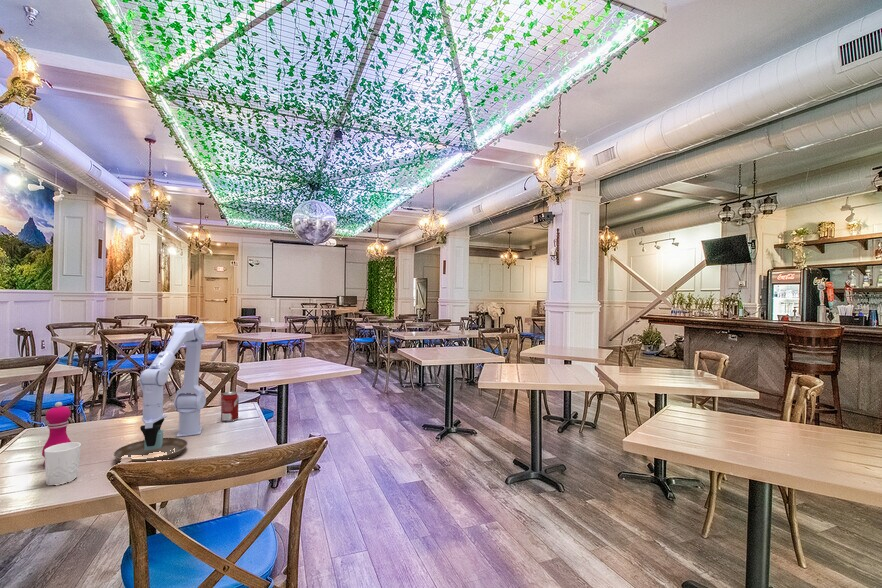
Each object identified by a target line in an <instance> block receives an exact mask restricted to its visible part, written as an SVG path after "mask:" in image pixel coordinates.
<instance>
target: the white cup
mask: <svg viewBox="0 0 882 588" xmlns="http://www.w3.org/2000/svg"><path fill="white" fill-rule="evenodd" d="M81 446H82V444H81V442H78V441H77V442H75V441H74V442H73V441H71V442H69V443H62V444H57V445H54V446H51V447H48V448H46V449H45V450H44V453H45V457H44V460H45V467H44V470H45V477H46V485H47V484H48V485H47V486H49V485H55V484H60V483H63V482H68V481H70V480H72V479H75V478H76V477H77V478H78V474H79V468H80V460H81ZM75 480H76V479H75Z"/></svg>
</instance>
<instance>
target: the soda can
mask: <svg viewBox="0 0 882 588" xmlns="http://www.w3.org/2000/svg"><path fill="white" fill-rule="evenodd" d="M220 401H221V402H220V405H221V406H220V408H221V409H220V420H221V421H222V422H224V421H226V422H225V423H229V422H228V421H232V422H234V421H233V420H235V421H236V420H238V419H239V402H240V400H239V394H238V392H237V391H227V392H223V393H222V396H221V399H220Z"/></svg>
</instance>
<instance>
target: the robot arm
mask: <svg viewBox="0 0 882 588" xmlns="http://www.w3.org/2000/svg"><path fill="white" fill-rule="evenodd" d="M205 340H206V328H205V325H204V324H203V323H201V322H199V323H195V322H193V323H190V322H184V323H183V322H175V324H174V325H173V326H172V328H171V338H170V340H169V341H168V343H167V344H166V345H167V346H166V347H165V349H164V350H163V351H160V352H159V353H158V354H157V356H156V357H155V358H154V360H153V361H152V363H151V364H150V365H149V367H148V368H146V369H144V370H142V371H141V373H140V375H139V378H138V382H139V385H140V387H141V388H140V389H141V392H142V417H141V421H142V422H143V423H144V425H141V426H140V427H139V429H140V432H142V434H143V437H144V440H145V441H146V445H147V447H148V446H154V445H155V443H156V438H157V433H158V430H161V428H162V425H163V423H164V421H165V419H167V418H168V414H164V385H165V384H166V383H167V382H168V378H169V374H170V370H171V367H172V366H173V365H174V363H175V362H176V356H175V355H176V354H177V353H178V351H179V350H180V349H181V348H182V346H183V345H185V348H186V349H185V350H186V351H185V362H184V363H185V364H184V374H183V375H184V376H183V383H182V384H183V386H182V387H180V388H179V389H177V391H176V394H175V397H174V400H173V406H174V409H175V410H176V412H177V413H178V414H179V416H178V431H177V433H176V438H177V437H178V438H180V437H187V436H196V435H200V434H201V432H202V429H203V426H202V425H201V410H203V408H204V407H205V405H206V403H207V397H206V390H205V389H204V388H202V387H201V386H200V385H199V378H200V365H201V353H202V344H204V343H205Z"/></svg>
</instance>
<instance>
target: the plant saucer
mask: <svg viewBox="0 0 882 588" xmlns="http://www.w3.org/2000/svg"><path fill="white" fill-rule="evenodd" d="M187 446H188V441H187V440H186V439H183V438H180V437H178V438H177V437H163V444H162V446H161V448H159V449H151V450H144V448H145V439H144V440H139V441H135V442H132V443H129V444H126V445H124V446H121V447H119V448H118V449H116V450H115V451H114V452H113V456H114V458H115V459H116V460H117V461H118V462H120V461H119V460H121V459H122V458H121V457H122V456H124V455H128V457H131V455H142V456H143V455H148V454H149V453H153V452H159V451H161V452H164V453H165V452H167V455H163V456H159V457H154V458H147V459H132V462H146V461H157V460H166V461H169V460H170V459H168V458H172V457H174V458H175V456H176V457H177V455H178V456H179V455H180V454H181V453H182V452H183V451H185V449H186V448H187ZM174 448H175V452H174V450H173V449H174ZM170 450H171V451H170ZM172 452H173V453H172ZM172 459H173V458H172Z"/></svg>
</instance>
